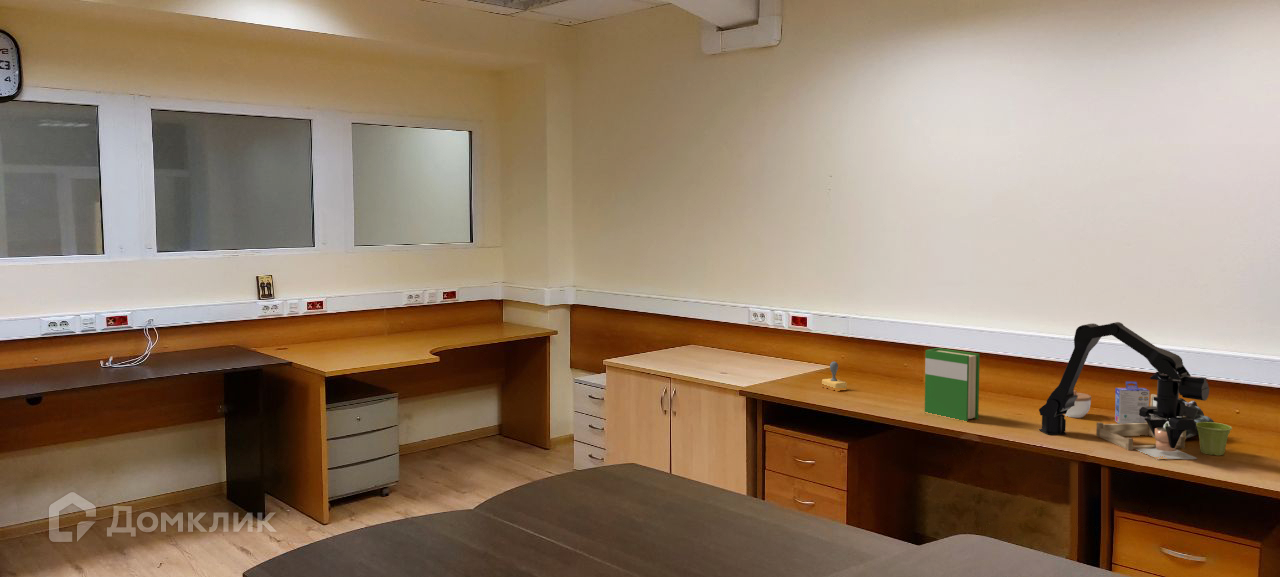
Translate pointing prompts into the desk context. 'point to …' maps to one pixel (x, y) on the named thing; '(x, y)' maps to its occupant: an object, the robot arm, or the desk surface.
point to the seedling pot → (1162, 439)
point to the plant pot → (1213, 437)
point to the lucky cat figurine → (1196, 418)
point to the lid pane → (1154, 403)
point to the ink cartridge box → (1130, 403)
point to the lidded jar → (1079, 406)
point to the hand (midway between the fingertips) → (1165, 445)
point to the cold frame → (1128, 434)
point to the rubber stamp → (834, 378)
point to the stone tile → (1166, 454)
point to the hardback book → (952, 383)
